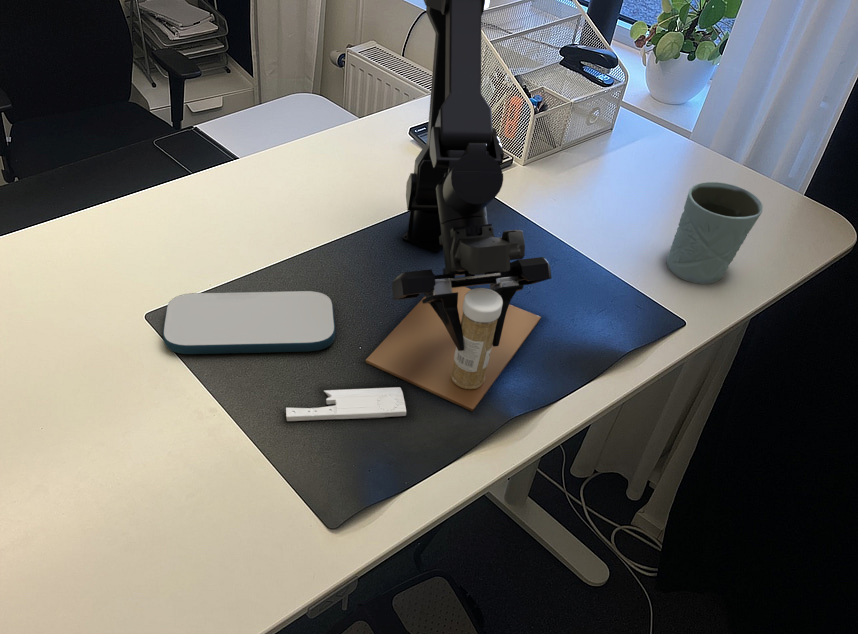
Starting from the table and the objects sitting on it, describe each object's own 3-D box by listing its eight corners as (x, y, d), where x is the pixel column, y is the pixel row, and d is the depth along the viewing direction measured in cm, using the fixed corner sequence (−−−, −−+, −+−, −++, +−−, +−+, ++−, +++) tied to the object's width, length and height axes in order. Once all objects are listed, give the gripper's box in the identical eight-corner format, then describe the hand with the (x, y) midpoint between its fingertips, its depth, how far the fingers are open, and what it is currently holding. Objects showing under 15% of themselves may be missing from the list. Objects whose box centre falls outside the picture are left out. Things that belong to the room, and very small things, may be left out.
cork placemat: (365, 362, 102) (365, 359, 101) (441, 280, 114) (442, 277, 114) (472, 411, 96) (473, 409, 95) (540, 319, 108) (541, 316, 108)
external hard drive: (161, 358, 102) (159, 347, 100) (169, 303, 110) (167, 292, 108) (336, 354, 103) (337, 343, 101) (331, 300, 111) (332, 289, 109)
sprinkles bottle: (491, 382, 99) (511, 302, 89) (464, 395, 97) (482, 315, 87) (468, 361, 101) (485, 281, 91) (442, 374, 100) (456, 294, 90)
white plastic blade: (285, 392, 97) (285, 386, 97) (400, 388, 98) (401, 382, 98) (286, 421, 94) (286, 415, 93) (406, 417, 95) (406, 411, 94)
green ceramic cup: (650, 267, 118) (677, 199, 109) (679, 240, 123) (707, 173, 114) (713, 295, 113) (746, 226, 104) (740, 266, 118) (774, 198, 109)
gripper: (406, 215, 83) (423, 355, 84) (565, 199, 86) (580, 335, 87) (384, 234, 94) (399, 358, 95) (525, 220, 97) (538, 340, 98)
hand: (478, 348), depth 93 cm, fingers closed on sprinkles bottle, 4 cm apart
